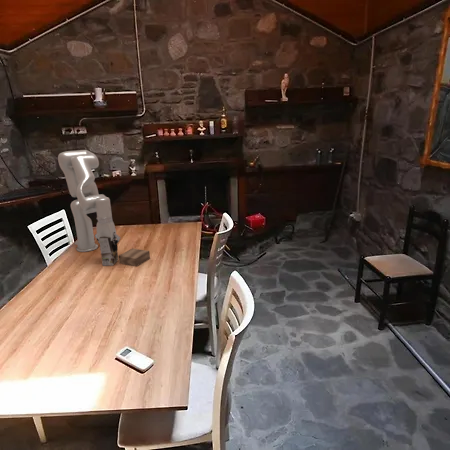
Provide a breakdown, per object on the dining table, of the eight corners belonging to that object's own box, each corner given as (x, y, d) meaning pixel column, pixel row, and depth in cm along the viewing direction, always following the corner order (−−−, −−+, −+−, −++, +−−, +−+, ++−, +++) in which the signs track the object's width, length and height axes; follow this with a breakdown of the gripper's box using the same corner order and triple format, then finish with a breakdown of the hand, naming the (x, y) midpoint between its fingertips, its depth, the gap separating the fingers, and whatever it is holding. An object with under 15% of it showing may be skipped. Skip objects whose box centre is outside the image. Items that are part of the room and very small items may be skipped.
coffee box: (113, 265, 193) (110, 237, 188) (102, 265, 193) (98, 238, 188) (118, 259, 202) (115, 232, 197) (107, 259, 202) (104, 232, 197)
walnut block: (119, 264, 196) (118, 255, 194) (133, 256, 206) (132, 248, 205) (136, 267, 191) (135, 258, 190) (150, 259, 201) (149, 251, 200)
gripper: (87, 220, 190) (91, 250, 195) (113, 223, 184) (117, 254, 189) (96, 216, 197) (101, 246, 202) (122, 219, 190) (126, 249, 196)
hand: (109, 249), depth 195 cm, fingers closed on coffee box, 8 cm apart
